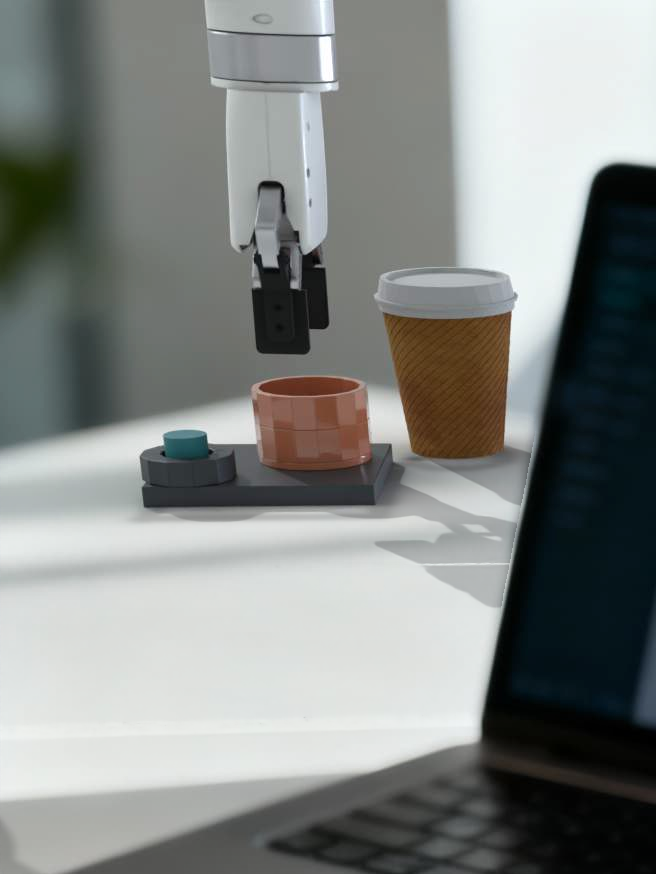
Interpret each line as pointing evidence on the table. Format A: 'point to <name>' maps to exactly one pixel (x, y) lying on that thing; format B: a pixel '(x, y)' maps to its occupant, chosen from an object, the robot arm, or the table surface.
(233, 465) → the dark grey flat block
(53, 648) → the table surface
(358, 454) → the pink cylindrical container
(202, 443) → the button
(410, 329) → the disposable coffee cup
